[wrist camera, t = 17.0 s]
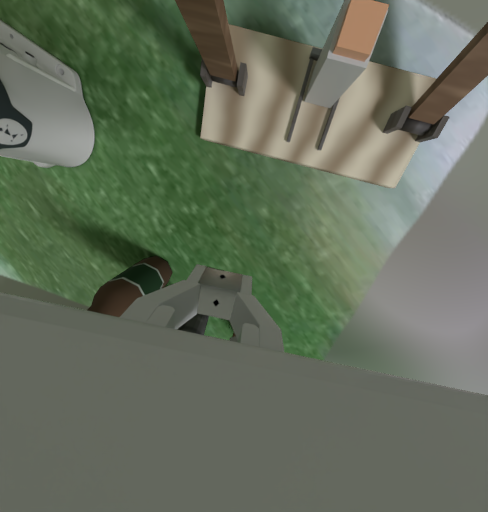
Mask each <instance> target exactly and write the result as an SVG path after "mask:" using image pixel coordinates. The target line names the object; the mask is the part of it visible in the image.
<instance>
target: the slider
mask: <svg viewBox="0 0 488 512" xmlns="http://www.w3.org/2000/svg"><path fill="white" fill-rule="evenodd" d="M388 7H389V4H385V3H381V2H377V1H374V0H344V3H343V5H342V7H341V9H340V12H339V14H338V16H337V18H336V20H335V23H334V25H333V27H332V29H331V31H330V34H329V36H328V38H327V40H326V43H325V45H324V47H323V49H322V51H321V54H320V56H319V58H318V60H317V62H316V65H315V67H314V70H313V74H312V77H311V80H310V84H309V87H308V91H307V94H306V97H305V101H304V102H308V103H311V104H315V105H319V106H323V107H327V108H331V107H332V106H333V104H334V103H335V102H336V101H337V100H338V99H339V98H340V97H341V96H342V94H343V93H344V92H345V91H346V90H347V89H348V88H349V87H350V86H351V85H352V83H353V82H354V81H355V80H356V79H357V78H358V77H359V76H360V75H361V73H362V72H363V71H364V70H365V69H366V68H367V65H368V62H369V60H370V57H371V55H372V52H373V49H374V47H375V44H376V41H377V39H378V36H379V34H380V31H381V28H382V26H383V23H384V21H385V18H386V15H387V13H388V10H387V9H388Z"/></svg>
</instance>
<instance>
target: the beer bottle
mask: <svg viewBox="0 0 488 512" xmlns="http://www.w3.org/2000/svg"><path fill="white" fill-rule="evenodd" d="M171 275H172V270H171V268H170V266H169V264H168V262H167V261H165V260H163V259H161V258H159V257H158V256H153V257H149V258H145V259H143V260H141V261H139V262H138V263H136V264H135V265H133V266H132V267H130V268H128V269H127V270H125V271H124V272H122V273H121V274H119V275H117V276H116V277H114V278H113V279H111V280H110V281H108V282H107V283H105V284H104V285H103V286H101V287H100V288H99V290H98V291H97V293H96V294H95V296H94V299H93V302H92V305H91V307H90V308H89V309H88V310H87V311H92V312H96V313H101V314H106V315H111V316H115V317H120V316H121V315H122V314H123V313H124V312H125V311H126V310H127V309H128V307H129V306H130V305H131V304H132V303H133V302H134V301H135V300H136V299H137V298H139V297H142V296H144V295H147V294H149V293H152V292H155V291H157V290H160V289H162V288H164V286H165V285H166V284H167V283H168V281H169V279H170V277H171Z"/></svg>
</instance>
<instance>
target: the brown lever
mask: <svg viewBox="0 0 488 512" xmlns="http://www.w3.org/2000/svg"><path fill="white" fill-rule="evenodd" d="M175 1H176V3H177V5H178V7H179V10H180V12H181V14H182V16H183V18H184V20H185V22H186V24H187V27H188V29H189V31H190V33H191V35H192V37H193V39H194V41H195V43H196V46H197V48H198V50H199V52H200V54H201V56H202V58H203V60H204V63H205V65H206V67H207V69H208V71H209V73H210V75H211V79H212V81H213V82H217V83H221V84H225V85H229V86H232V87H236V88H237V80H238V74H239V70H237V69H238V68H237V63H236V58H235V54H234V49H233V44H232V39H231V35H230V30H229V25H228V20H227V16H226V11H225V6H224V1H223V0H175Z"/></svg>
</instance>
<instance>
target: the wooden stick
mask: <svg viewBox="0 0 488 512" xmlns="http://www.w3.org/2000/svg"><path fill="white" fill-rule="evenodd" d="M487 76H488V22H487V24H486V25H485V26H484V27H483V28H482V29H481V30H480V31H479V32H478V33H477V35H476V36H475V37H474V38H473V39H472V40H471V41H470V42H469V44H468V45H467V46H466V47H465V48H464V49H463V50H462V51H461V52H460V54H459V55H458V56H457V57H456V58H455V59H454V60H453V61H452V63H451V64H450V65H449V66H448V67H447V68H446V69H445V70H444V71H443V73H442V74H441V75H440V76H439V77H438V78H437V79H436V80H435V82H434V83H433V84H432V85H431V86H430V87H429V88H428V89H427V90H426V92H425V93H424V94H423V95H422V96H421V97H420V98H419V99H418V101H417V102H416V103H415V104H414V105H413V106H412V108H411V110H410V112H409V114H408V116H407V118H406V120H405V122H404V124H403V126H402V128H401V129H398V130H401V131H405V132H409V133H413V134H417V135H420V136H421V135H424V134H425V133H426V132H427V131H428V130H429V129H430V128H431V126H432V124H435V123H436V122H437V121H438V120H439V119H440V118H442V117H443V116H444V115H445V114H446V113H447V112H448V111H449V110H450V109H451V108H453V107H454V106H455V105H456V104H457V103H458V102H459V101H460V100H461V99H462V98H464V97H465V96H466V95H467V94H468V93H469V92H470V91H471V90H472V89H473V88H475V87H476V86H477V85H478V84H479V83H480V82H481V81H482V80H483V79H484V78H485V77H487Z"/></svg>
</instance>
